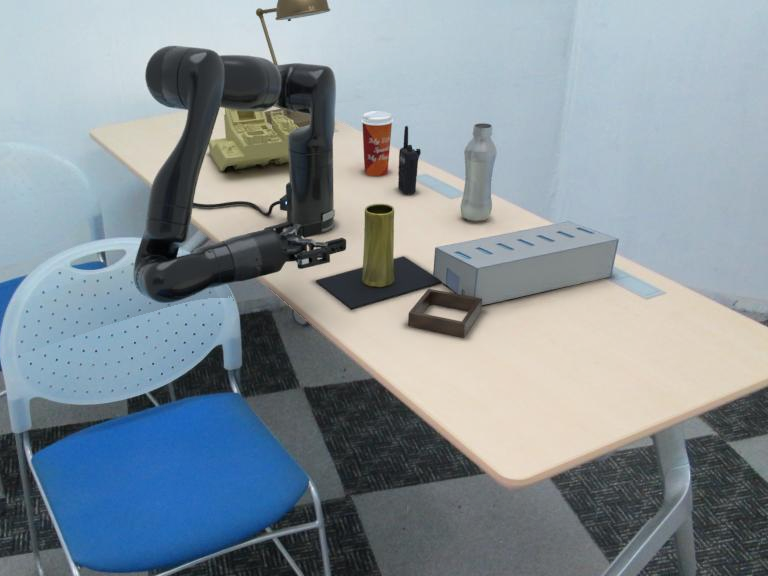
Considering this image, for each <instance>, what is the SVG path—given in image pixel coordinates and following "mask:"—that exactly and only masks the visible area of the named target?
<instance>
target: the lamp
mask: <svg viewBox="0 0 768 576" xmlns="http://www.w3.org/2000/svg"><path fill="white" fill-rule="evenodd" d="M329 12H331V8H330V7H329V3H328V0H277V2H276V7H273V8H265V9H262V8H260V7H259V8H257V9H256V11H255V14H256V16H257V17H258V18H259V20H260V24H261V27H262V30H263V33H264V37H265V40H266V43H267V47H268V50H269V53H270V57H271V59H272V63H273V64H275V65H279V64H278V61H277V57H276V55H275V51H274V47H273V43H272V41H271V38H270V35H269V32H268V28H267V25H266V21H265V18H264V17H265V16H264V14H265V15H266V14H267V15H268V14H270V13H275V14H276V17H275V21H286V20H287V22H291V21H292V20H293V19H301V18H306V17H311V16H315V15H321V14H325V13H329ZM281 110H283V115H284V116H286V117H287V118H289V119H290V120H293V121H294V124H295V125H297V126H298V127H299V128H300V127H304V126H307V125H310V120H311V114H304V113H296V112H290V111H287V110H284V109H281V108H277V109H273V110H265V111H264V112H265V115H266V118H267V122H268V123H270V124H272V119H271V114H270V112H271V111H272V112H279V111H281ZM278 114H279V115H281V113H274V114H273V115H278Z"/></svg>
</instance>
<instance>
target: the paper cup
mask: <svg viewBox="0 0 768 576" xmlns="http://www.w3.org/2000/svg"><path fill="white" fill-rule="evenodd" d="M360 122H361V123H362V143H363V144H362V145H363V164H364V174H365V175H367V176H370V177H383V176H386V175H387V174H388V171H389V160H390V150H391V140H392V139H391V138H392V125H393V124H392V123H393V122H394V118H393V115H392V113H390V112H387V111H383V110H374V111H372V110H371V111H367V112H364V114H362V118H361V120H360Z"/></svg>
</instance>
